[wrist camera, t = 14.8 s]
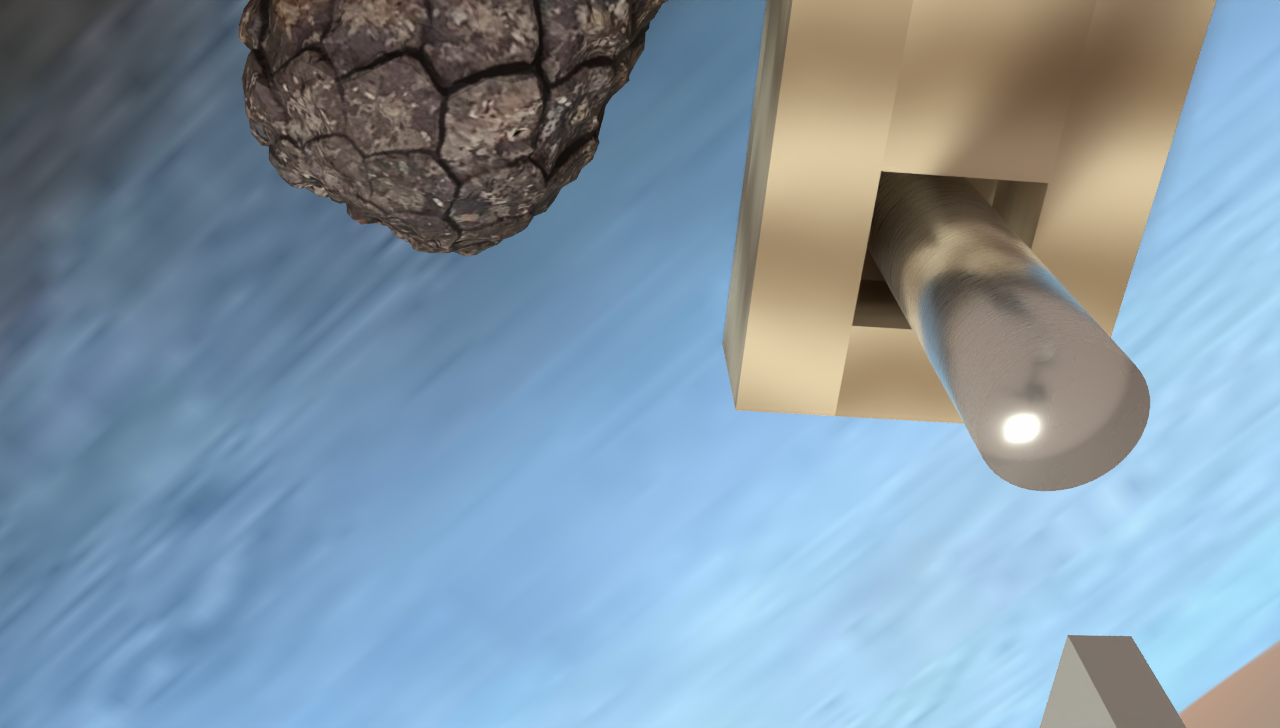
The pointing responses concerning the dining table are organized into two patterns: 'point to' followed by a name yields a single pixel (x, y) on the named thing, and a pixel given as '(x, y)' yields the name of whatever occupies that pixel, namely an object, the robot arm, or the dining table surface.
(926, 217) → the steel pin
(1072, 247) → the hole block
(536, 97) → the pine cone
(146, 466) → the dining table surface
